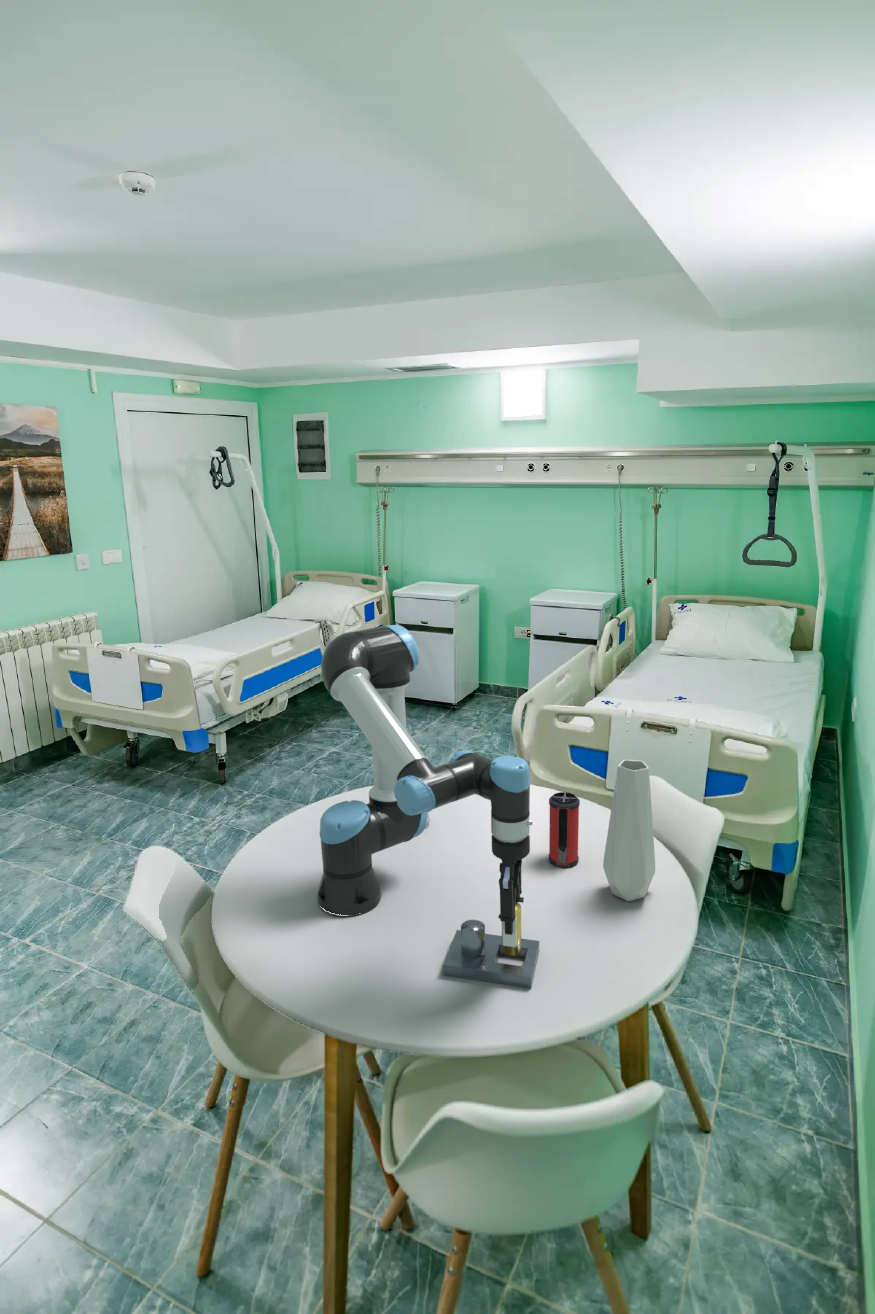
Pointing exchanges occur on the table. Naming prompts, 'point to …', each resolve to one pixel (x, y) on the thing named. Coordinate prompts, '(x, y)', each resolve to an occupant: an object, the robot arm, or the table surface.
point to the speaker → (564, 829)
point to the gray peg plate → (488, 957)
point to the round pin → (517, 950)
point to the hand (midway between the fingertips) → (511, 938)
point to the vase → (630, 833)
